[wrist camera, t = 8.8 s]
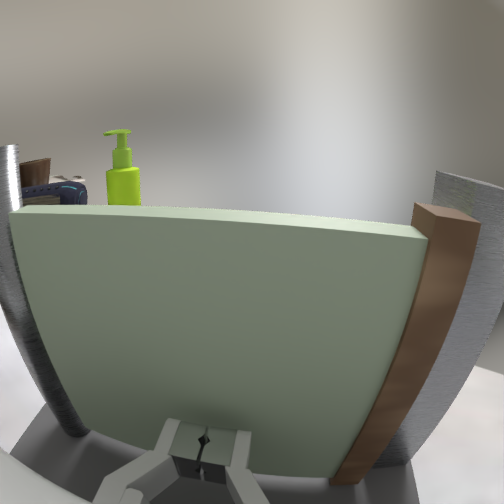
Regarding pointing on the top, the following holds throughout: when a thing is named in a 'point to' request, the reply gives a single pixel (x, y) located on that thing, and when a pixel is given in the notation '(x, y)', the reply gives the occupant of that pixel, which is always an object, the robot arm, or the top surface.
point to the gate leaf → (245, 322)
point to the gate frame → (274, 487)
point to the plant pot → (34, 172)
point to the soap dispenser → (122, 174)
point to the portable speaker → (55, 194)
